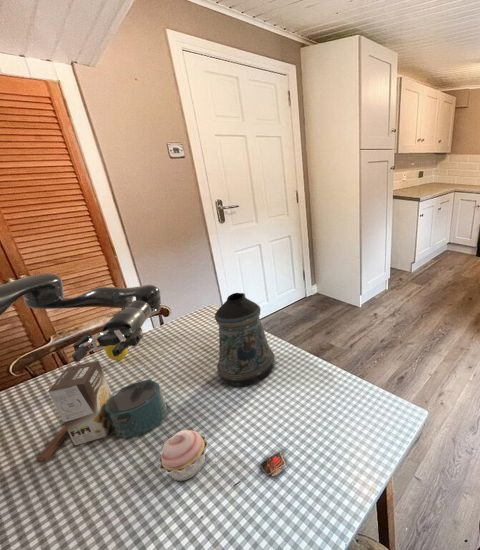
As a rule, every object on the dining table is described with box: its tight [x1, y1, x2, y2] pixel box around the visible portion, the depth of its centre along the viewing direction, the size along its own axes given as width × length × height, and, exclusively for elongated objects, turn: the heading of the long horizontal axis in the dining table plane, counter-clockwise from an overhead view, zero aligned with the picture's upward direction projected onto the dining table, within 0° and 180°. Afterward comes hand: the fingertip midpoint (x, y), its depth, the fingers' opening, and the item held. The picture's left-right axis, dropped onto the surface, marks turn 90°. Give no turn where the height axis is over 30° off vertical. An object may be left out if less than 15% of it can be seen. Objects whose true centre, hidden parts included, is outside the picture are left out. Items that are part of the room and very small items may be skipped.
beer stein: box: [214, 292, 275, 388], centre depth 91 cm, size 16×19×25 cm
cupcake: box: [157, 429, 209, 482], centre depth 64 cm, size 9×9×10 cm
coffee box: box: [47, 360, 113, 446], centre depth 72 cm, size 9×6×16 cm
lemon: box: [104, 344, 129, 361], centre depth 98 cm, size 6×6×8 cm
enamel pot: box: [105, 379, 168, 439], centre depth 76 cm, size 11×14×8 cm
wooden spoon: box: [37, 424, 69, 462], centre depth 74 cm, size 5×15×1 cm, turn 13°
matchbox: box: [260, 451, 286, 477], centre depth 66 cm, size 5×5×1 cm
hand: (95, 356), depth 77 cm, fingers open, 8 cm apart
